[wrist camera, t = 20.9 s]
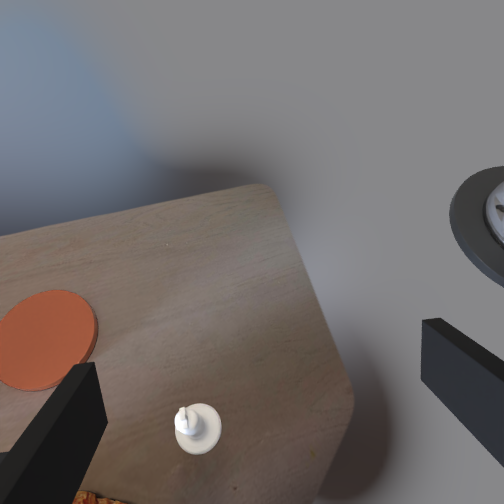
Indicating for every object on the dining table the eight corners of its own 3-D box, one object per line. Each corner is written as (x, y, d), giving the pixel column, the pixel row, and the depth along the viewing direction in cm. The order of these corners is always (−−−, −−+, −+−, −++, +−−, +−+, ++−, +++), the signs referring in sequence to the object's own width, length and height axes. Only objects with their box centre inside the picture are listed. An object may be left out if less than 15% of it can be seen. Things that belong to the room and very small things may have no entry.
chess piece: (179, 461, 36) (157, 459, 28) (171, 411, 39) (148, 395, 30) (226, 446, 37) (217, 439, 28) (215, 397, 39) (205, 378, 31)
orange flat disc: (113, 350, 42) (110, 347, 41) (11, 413, 39) (5, 412, 38) (77, 277, 47) (73, 273, 46) (-16, 327, 44) (-23, 324, 43)
